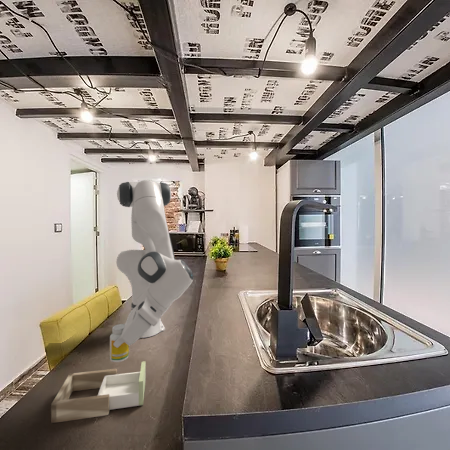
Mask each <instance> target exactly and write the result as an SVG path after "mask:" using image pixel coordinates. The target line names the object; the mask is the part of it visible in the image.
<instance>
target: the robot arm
mask: <svg viewBox="0 0 450 450" xmlns="http://www.w3.org/2000/svg"><path fill="white" fill-rule="evenodd" d="M116 196H117V200H118V202H119V205H120V206H122V207H124V208H131V217H130V220H131V222H130V223H131V237H132V239H133V240H134V242H137V243H139V244H141V245H142V247H144V249H129V250H128V249H127V250H123V251H120V253H119V254H118V256H117V258H116V261H115V262H116V267H117V269H118V271H119V272H120V273H123V275H124V276H125V277H126V278H127V279H128V281H129V283H130V285H131V286H130V287H131V293H132V294H131V295H132V297H131V298H132V302H131V305H130V307H131V308H130V309H131V311H130V312H129V314H128V315H127V319H126V321H125V323H124V324H125V326H124V329H123V332H122V335H121V336H120V337H119V338H117V339H116V340H115V341H114V344H113V345H114V346H115V347H117V348H118V347H119V346H120V345H121V344H122V343H124V342H125V343H126V344H127V345H129V346H131V345H133V344H135V343H136V342H137V341H138V340H139V339H141V338H142V339H143V338H150V337H153V336H156V335H157V334H159V333H161V332H165V330H166V327H165V325H164V324H163V322H162V319H161V318H162V317H163V315H164V314H165V313H166V312H167V311H168V310H170V309H169V308H170V307H171V305H172V304H173V303H174V302H175V301H176V300H178V299H179V298H180V297H181V296H182V295H184V293H185V292H186V291H187V290H188V288H189V287H190V286H191V285H192V283H193V281H194V279H195V278H194V273H193V271H192V269H191V267H190V266H188V264H187V263H186V262H185V261H184V260H182V259H176V256H175V252H174V248H173V244H172V238H171V235H170V232H169V225H168V222H167V216H166V210H165V207H166V206H167V205H169V204H170V202H171V198H172V191H171V186H169V184H168V183H166V182H161V181H160V182H158V181H153V180H150V179H143V180H140V181H132V182H129V181H125V182H121V183H120V184H119V185H118V189H117V191H116Z"/></svg>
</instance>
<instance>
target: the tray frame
mask: <svg viewBox="0 0 450 450" xmlns="http://www.w3.org/2000/svg"><path fill="white" fill-rule="evenodd" d="M116 374H118V368H111V369H110V368H109V369H102V370H92V371H91V370H90V371H84V372H74V373H69V374H68V375H67V377H66V379H65V380H64V382H63V384H62V386H61V387H60V389H59V391H58V393H57V394H56V396H55V398H54V399H53V401H52V402H51V404H50V405H51V406H50V414H51V415H50V418H51V419H50V420H51V421H50V423H51V424H53V423H56V424H57V423H62V422H68V421H75V420H83V419H89V418H94V417H104V416H108V415H109V414H110V410H109V394H107V395H99V396H98V395H93V396H85V397H78V398H71V397H70V396H71V395H72V394H73V392H76V391H86V390H94V389H100V387H101V385H102V382H103V379H104V377H105V376H107V375H116Z"/></svg>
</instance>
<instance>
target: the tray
mask: <svg viewBox="0 0 450 450" xmlns="http://www.w3.org/2000/svg"><path fill="white" fill-rule="evenodd" d="M146 364H147V363H146V360H145V361H144V360H143V361H141V365H140V371H136V372H126V373H125V372H124V373H117V374H116V375H107V376H105V377H104V379H103V382H102V385H101V387H100V388H99V390H98V394H97V396H99V395H107V394H109V411H110V410H116V409H124V408H132V407H137V406H143V405H144V400H145V399H144V398H145V391H146V390H145V389H146V369H147V368H146Z"/></svg>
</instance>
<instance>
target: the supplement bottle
mask: <svg viewBox="0 0 450 450" xmlns="http://www.w3.org/2000/svg"><path fill="white" fill-rule="evenodd" d="M124 326H125V323H119V324H115V325H113V326H112V331H111V332H112V333H111V334H110V336H109V361H111V362H113V363H121V362H123V361H124V362H125V360H127V359H128V358H129V355H130V353H129V352H130V345H127V344H126V343H125V342H124V343H122V344H121V345H120V346H119V347H118V348H117V347H115V346H114V345H113V344H114V341H115V340H116V339H117V338H119V337H120V336H121V335H122V332H123V329H124Z"/></svg>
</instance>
